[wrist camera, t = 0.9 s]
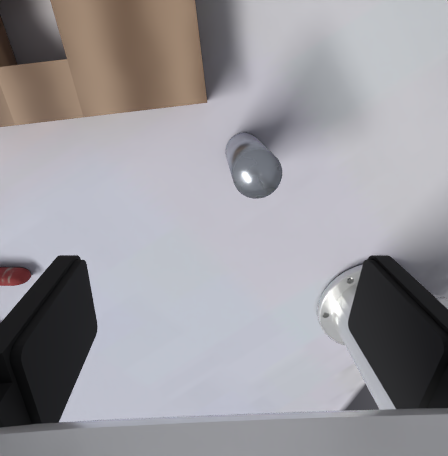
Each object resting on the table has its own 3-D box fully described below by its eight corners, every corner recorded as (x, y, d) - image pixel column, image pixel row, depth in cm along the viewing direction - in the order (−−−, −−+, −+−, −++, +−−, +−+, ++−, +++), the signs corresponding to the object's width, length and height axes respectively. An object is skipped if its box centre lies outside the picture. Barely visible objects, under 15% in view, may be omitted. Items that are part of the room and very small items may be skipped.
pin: (260, 130, 30) (281, 146, 22) (262, 167, 31) (282, 195, 23) (223, 135, 30) (230, 153, 22) (227, 171, 31) (235, 201, 23)
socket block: (182, -105, 22) (178, -137, 19) (207, 100, 28) (207, 102, 25) (-91, -74, 22) (-140, -101, 19) (-9, 126, 28) (-36, 131, 25)
